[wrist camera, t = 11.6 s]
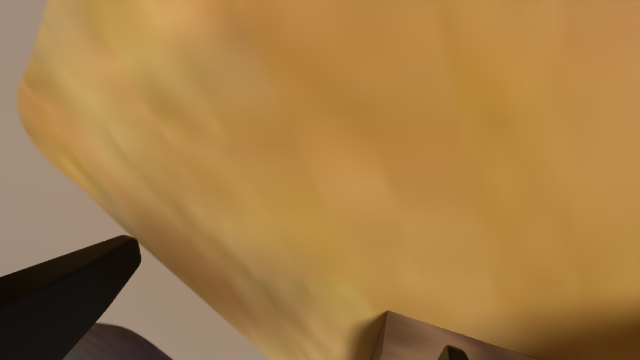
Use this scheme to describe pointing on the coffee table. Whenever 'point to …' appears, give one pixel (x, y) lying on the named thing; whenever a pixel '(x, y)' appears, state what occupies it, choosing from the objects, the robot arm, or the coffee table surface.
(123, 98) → the coffee table surface
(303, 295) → the coffee table surface
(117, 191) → the coffee table surface
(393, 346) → the walnut block
